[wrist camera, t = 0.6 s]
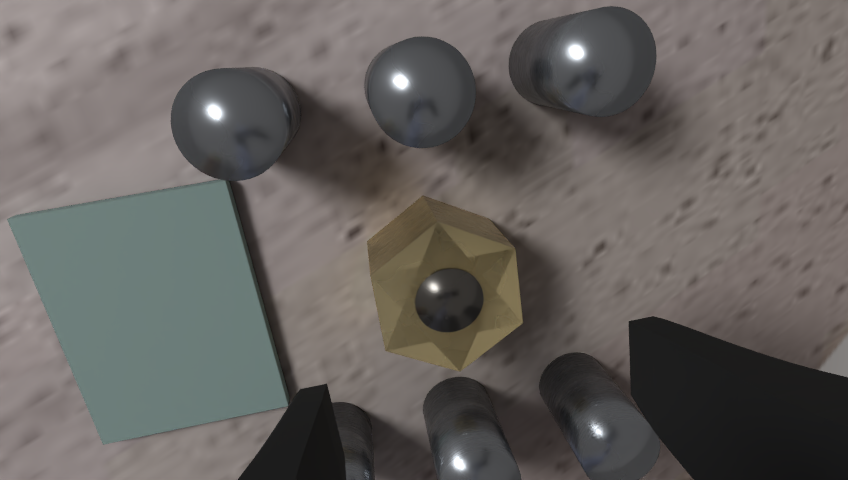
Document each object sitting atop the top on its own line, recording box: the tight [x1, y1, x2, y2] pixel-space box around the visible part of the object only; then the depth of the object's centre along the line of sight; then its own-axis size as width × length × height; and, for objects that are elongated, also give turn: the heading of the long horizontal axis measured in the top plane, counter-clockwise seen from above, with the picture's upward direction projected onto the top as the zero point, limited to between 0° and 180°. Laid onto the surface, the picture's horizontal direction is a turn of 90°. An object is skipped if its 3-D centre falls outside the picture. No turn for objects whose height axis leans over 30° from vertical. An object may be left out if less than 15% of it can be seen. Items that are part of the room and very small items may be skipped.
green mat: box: [7, 179, 290, 444], centre depth 19 cm, size 9×7×1 cm
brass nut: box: [367, 196, 523, 371], centre depth 19 cm, size 5×5×4 cm
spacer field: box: [171, 6, 660, 480], centre depth 18 cm, size 16×13×4 cm
